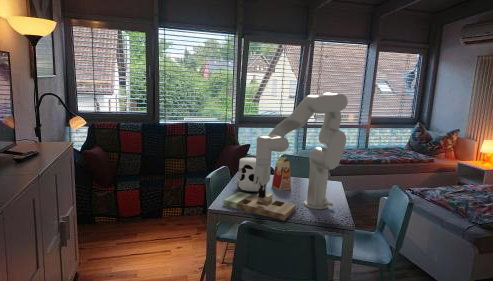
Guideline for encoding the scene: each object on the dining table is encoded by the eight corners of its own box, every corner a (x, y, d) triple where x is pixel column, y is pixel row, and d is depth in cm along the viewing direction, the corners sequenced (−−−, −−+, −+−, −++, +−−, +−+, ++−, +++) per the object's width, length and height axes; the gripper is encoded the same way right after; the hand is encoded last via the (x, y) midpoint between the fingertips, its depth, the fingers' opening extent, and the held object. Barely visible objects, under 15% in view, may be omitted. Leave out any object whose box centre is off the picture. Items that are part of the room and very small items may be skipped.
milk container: (270, 189, 201) (272, 160, 198) (256, 196, 187) (258, 165, 184) (245, 183, 210) (247, 155, 207) (230, 190, 195) (232, 160, 192)
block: (272, 200, 173) (272, 193, 173) (267, 203, 168) (268, 196, 167) (261, 197, 176) (262, 191, 175) (256, 201, 171) (257, 194, 170)
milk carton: (291, 188, 206) (294, 157, 202) (279, 190, 200) (282, 158, 197) (281, 184, 213) (284, 154, 210) (270, 186, 208) (272, 155, 204)
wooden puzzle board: (295, 210, 169) (295, 204, 169) (284, 220, 155) (284, 214, 155) (238, 197, 184) (238, 191, 183) (223, 205, 170) (223, 199, 169)
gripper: (262, 157, 172) (261, 191, 175) (249, 163, 159) (248, 200, 162) (276, 159, 168) (274, 194, 171) (264, 165, 155) (262, 203, 158)
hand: (261, 197), depth 167 cm, fingers closed
